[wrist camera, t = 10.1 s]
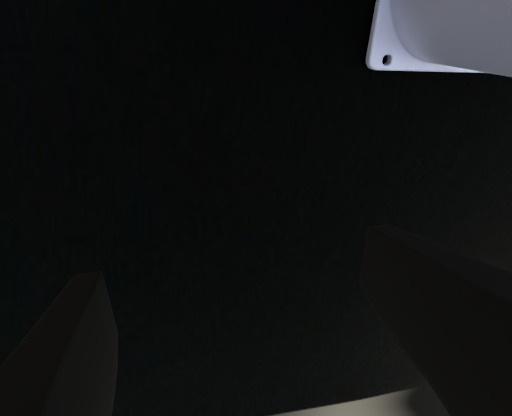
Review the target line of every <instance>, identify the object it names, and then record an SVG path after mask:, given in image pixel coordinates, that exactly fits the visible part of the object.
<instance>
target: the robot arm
mask: <svg viewBox="0 0 512 416" xmlns="http://www.w3.org/2000/svg"><path fill="white" fill-rule="evenodd" d="M385 55H387V61H386V63H385V64H383V63H382V59H383V57H384V56H385ZM366 65H367V67H368V68H369V69H373V70H389V71H430V72H470V73H491V74H497V75H503V76H508V77H512V0H376V4H375V9H374V15H373V20H372V26H371V32H370V37H369V43H368V49H367V54H366ZM359 285H360V287H361V289H362V290H363V292H364V294H365V296H366V298H367V300H368V301H369V303H370V305H371V306H372V308H373V310H374V311H375V313H376V314H377V316H378V317H379V319H380V320H381V321H382V323H383V324H384V325H385V327H386V328H387V329H388V331H389V332H390V333H391V335H392V336H393V337H394V338H395V340H396V341H397V342H398V344H399V345H400V346H401V348H402V349H403V350H404V351H405V353H406V354H407V355H408V357H409V358H410V359H411V361H412V362H413V363H414V364H415V366H416V367H417V368H418V370H419V371H420V372H421V374H422V375H423V376H424V377H425V379H426V380H427V382H428V383H429V384H430V386H431V387H432V389H433V390H434V391H435V393H436V394H437V396H438V397H439V399H440V400H441V402H442V404H443V405H444V406H445V408H446V410H447V412H448V413H449V415H450V416H512V273H511V272H509V271H506V270H503V269H500V268H498V267H495V266H492V265H490V264H487V263H484V262H482V261H479V260H476V259H474V258H471V257H469V256H466V255H464V254H461V253H459V252H456V251H454V250H451V249H449V248H447V247H444V246H442V245H439V244H437V243H435V242H432V241H430V240H427V239H425V238H423V237H420V236H418V235H415V234H413V233H410V232H408V231H405V230H402V229H400V228H397V227H394V226H391V225H388V224H383V225H377V226H371V227H367V231H366V238H365V245H364V251H363V258H362V265H361V271H360V278H359ZM117 365H118V331H117V327H116V323H115V319H114V316H113V312H112V308H111V304H110V300H109V297H108V293H107V289H106V285H105V281H104V278H103V274H102V270H101V271H95V272H89V273H83V274H77V275H74V276H73V278H72V279H71V280H70V281H69V282H68V284H67V285H66V286H65V287H64V289H63V290H62V291H61V293H60V294H59V295H58V296H57V298H56V299H55V300H54V302H53V303H52V304H51V305H50V307H49V308H48V309H47V310H46V312H45V313H44V314H43V316H42V317H41V318H40V319H39V321H38V322H37V323H36V324H35V325H34V327H33V328H32V329H31V330H30V331H29V333H28V334H27V335H26V336H25V338H24V339H23V340H22V341H21V342H20V344H19V345H18V346H17V347H16V348H15V349H14V351H13V352H12V353H11V354H10V355H9V356H8V357H7V358H6V360H5V361H4V362H3V363H2V364H1V365H0V416H112V409H113V401H114V394H115V386H116V378H117Z"/></svg>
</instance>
